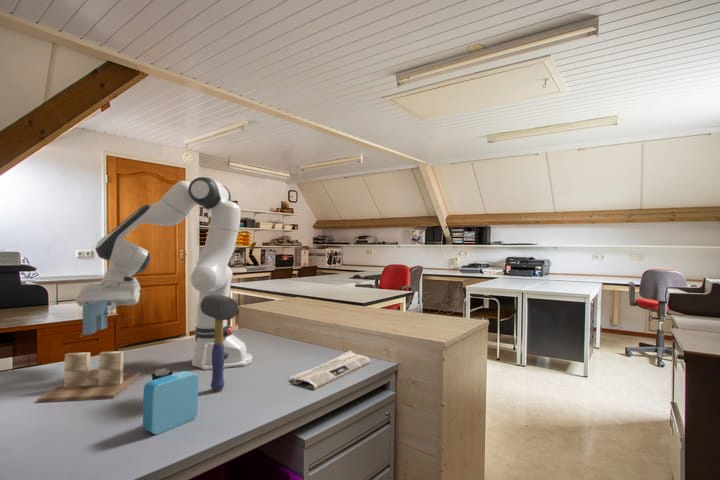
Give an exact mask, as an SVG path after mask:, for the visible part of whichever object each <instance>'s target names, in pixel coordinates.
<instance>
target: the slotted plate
mask: <svg viewBox="0 0 720 480" xmlns="http://www.w3.org/2000/svg"><path fill="white" fill-rule="evenodd" d="M105 308H108V306H107V300H100V301H97V302H93V303H89V304H85V305H83V306H82V336H90V335H93V334H94V333H96V332H97V331H102V330H104V329H107V328H108V314H106V315H105V313H104V311H105Z"/></svg>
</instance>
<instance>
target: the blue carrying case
mask: <svg viewBox="0 0 720 480" xmlns="http://www.w3.org/2000/svg"><path fill="white" fill-rule="evenodd" d="M142 398H143V400H142V403H143V405H142V406H143V407H142V408H143V409H142V429H144V430H145V431H148V432H149V433H151V434H152V435H153V434H154V435H155V436H156V435H160V434H162V433H165V432H167V431H169V430H172V429H174V428H177V427H179V426H181V425H182V426H183V425H184V424H186V423H188V422H191V421H193V420H195V419H196V417H197V416H198V412H199V375H197V374H196V373H193V372H190V371H187V370H183V371H180V372H176V373H173V374H172V375H169V376H165V377H162V378H158V379H155V380H150V381H147V382H146V383H145V384H144V387H143V397H142Z"/></svg>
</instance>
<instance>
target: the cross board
mask: <svg viewBox="0 0 720 480" xmlns="http://www.w3.org/2000/svg"><path fill="white" fill-rule="evenodd" d="M124 354H125V351H124V350H119V351H117V350H116V351H115V350H114V351H112V350H111V351H101V352H100V353H99V354H98V357H99V359H98V368H94V369H93V368H92V369H91V352H90V351H88V352H68V353H65V354H64V370H63V371H64V374H63V375H64V377H63V378H64V379H63V380H64V381H63V383H62V384H60V385H58V386H56V387H55V388H53V389H52V390H50V391H48V392H47V393H45V394H43V395H42V396H40V397H38V398H37V400H36V403H51V402H67V401H68V402H70V401H89V400H105V399H106V400H107V399H115V398H116V397H117V396H118V395H119V394H120V393H122V392H123V391H124V390H126V388H127V387H128V388H129V386H130V385H131V384H132V383H134V381H136V380H137V379H138V378H139V377H141V376H142V372H124V356H125V355H124Z"/></svg>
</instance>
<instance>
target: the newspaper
mask: <svg viewBox="0 0 720 480" xmlns="http://www.w3.org/2000/svg"><path fill="white" fill-rule="evenodd" d="M370 364H372V361H371V359H370V358H369V357H368V356H366V355H362V354H357V353H355V352H353V351H352V349H351V350H349V351H347V352H346V351H345V352H344V353H343V354H341V355H339V356H337V357H335V358H333V359H331V360H329V361H327V362H325V363H323V364H319V366H316V367H313V368H310V369H308V370H305V371H302V372H299V373H297V374H293V375H291V376H289V378H290V379H291V382H290V383H291V384H293V383H294V384H293V385H298V384H301V383H304V382H305V383H308V384H309V385H306V387H307V388H310V389H313V390H314V391H316V390H318V389H320V388H322V387H324V386H326V385H328V384H331V383H333V382H335V381H336V380H338V379H341V378H342V377H345V376H347V375H349V374H351V373H353V372H356V371H358V370H359V369H362V368H364V367H366V366H368V365H370ZM303 381H304V382H303ZM300 382H301V383H300Z"/></svg>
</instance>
